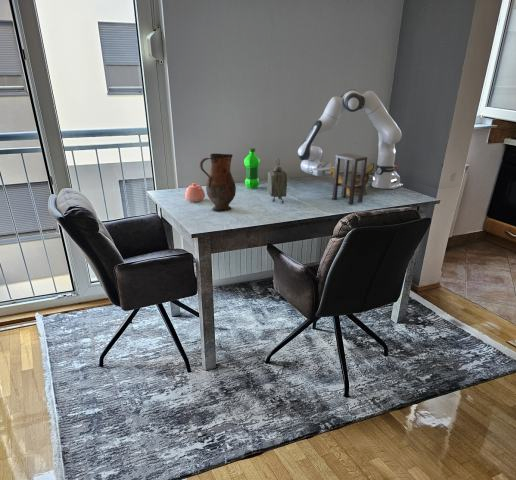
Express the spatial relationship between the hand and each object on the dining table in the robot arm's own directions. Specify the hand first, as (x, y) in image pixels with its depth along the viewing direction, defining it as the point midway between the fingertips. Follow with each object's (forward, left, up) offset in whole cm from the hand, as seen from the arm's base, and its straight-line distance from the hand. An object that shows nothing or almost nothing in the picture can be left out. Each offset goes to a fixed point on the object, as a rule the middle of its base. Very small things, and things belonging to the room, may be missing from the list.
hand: (333, 172), depth 306 cm
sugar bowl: (+86, -32, -12) cm, 92 cm away
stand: (+10, +23, -12) cm, 28 cm away
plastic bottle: (+38, -39, -12) cm, 56 cm away
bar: (0, +6, -6) cm, 8 cm away
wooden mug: (-12, +15, -12) cm, 23 cm away
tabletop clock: (+47, -1, -12) cm, 49 cm away
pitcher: (+86, -6, -12) cm, 87 cm away
